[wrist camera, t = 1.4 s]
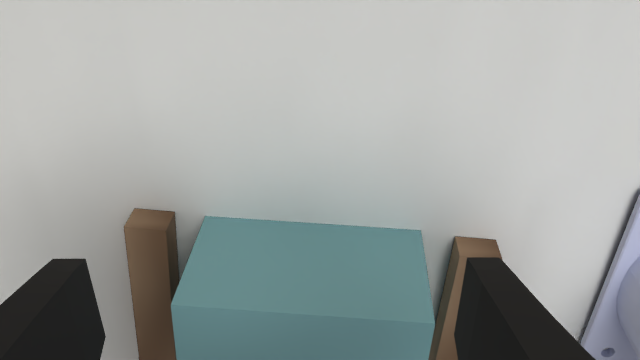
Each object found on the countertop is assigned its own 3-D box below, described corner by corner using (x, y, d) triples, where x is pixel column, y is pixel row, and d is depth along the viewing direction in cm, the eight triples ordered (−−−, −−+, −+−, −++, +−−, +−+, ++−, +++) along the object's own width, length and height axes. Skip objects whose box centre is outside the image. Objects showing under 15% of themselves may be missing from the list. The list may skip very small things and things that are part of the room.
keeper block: (420, 227, 23) (435, 323, 18) (402, 344, 26) (411, 450, 21) (206, 213, 23) (170, 305, 18) (213, 331, 26) (184, 433, 21)
